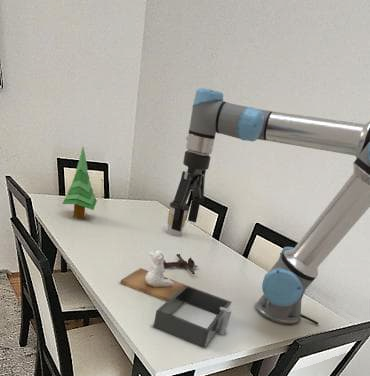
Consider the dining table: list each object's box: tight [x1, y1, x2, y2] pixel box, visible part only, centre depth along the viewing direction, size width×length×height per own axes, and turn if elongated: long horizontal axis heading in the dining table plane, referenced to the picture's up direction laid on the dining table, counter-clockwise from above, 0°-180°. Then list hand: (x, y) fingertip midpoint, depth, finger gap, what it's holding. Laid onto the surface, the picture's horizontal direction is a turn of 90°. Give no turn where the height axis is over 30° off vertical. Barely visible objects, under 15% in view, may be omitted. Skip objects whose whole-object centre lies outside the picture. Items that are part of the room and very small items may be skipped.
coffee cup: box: [166, 201, 190, 237], centre depth 179 cm, size 9×9×15 cm
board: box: [120, 267, 186, 302], centre depth 131 cm, size 20×14×1 cm
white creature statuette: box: [145, 249, 174, 287], centre depth 127 cm, size 10×9×12 cm
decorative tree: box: [62, 147, 98, 220], centre depth 167 cm, size 14×16×30 cm
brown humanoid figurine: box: [163, 253, 198, 276], centre depth 149 cm, size 18×4×14 cm
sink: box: [153, 284, 232, 348], centre depth 114 cm, size 18×22×8 cm
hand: (184, 225), depth 120 cm, fingers open, 13 cm apart
